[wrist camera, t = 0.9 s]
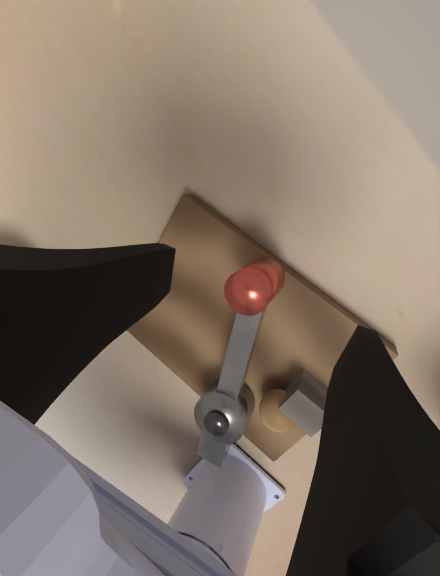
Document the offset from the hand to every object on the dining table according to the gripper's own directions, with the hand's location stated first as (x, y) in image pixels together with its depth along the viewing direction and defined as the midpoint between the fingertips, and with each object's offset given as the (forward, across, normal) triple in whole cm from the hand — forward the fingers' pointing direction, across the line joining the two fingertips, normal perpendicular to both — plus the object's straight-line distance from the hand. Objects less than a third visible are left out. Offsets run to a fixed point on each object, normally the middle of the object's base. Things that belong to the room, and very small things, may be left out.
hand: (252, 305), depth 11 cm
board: (+12, +3, +11) cm, 16 cm away
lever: (+10, +1, +12) cm, 16 cm away
